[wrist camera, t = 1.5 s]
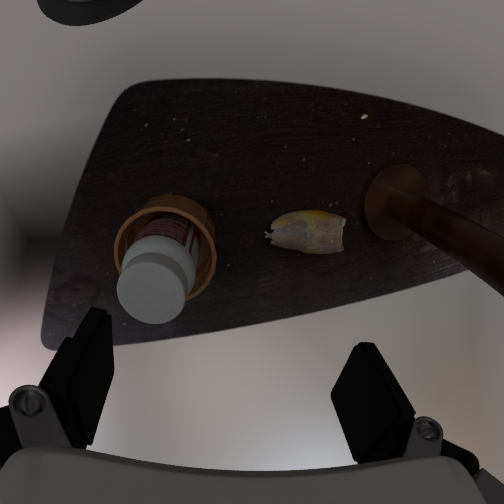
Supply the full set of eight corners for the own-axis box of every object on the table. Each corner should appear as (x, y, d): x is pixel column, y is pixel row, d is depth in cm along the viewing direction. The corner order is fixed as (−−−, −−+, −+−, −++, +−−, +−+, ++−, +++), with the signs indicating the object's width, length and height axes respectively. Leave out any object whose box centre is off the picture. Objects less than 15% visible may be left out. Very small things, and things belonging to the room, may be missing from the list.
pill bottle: (131, 231, 31) (92, 283, 20) (178, 198, 30) (155, 238, 20) (166, 276, 33) (145, 342, 23) (212, 247, 32) (209, 306, 22)
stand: (345, 200, 32) (513, 332, 10) (400, 146, 30) (593, 208, 8) (388, 253, 35) (523, 389, 13) (436, 203, 33) (592, 296, 11)
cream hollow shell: (273, 257, 34) (265, 257, 30) (270, 216, 34) (262, 210, 30) (347, 252, 33) (350, 252, 28) (343, 210, 33) (346, 203, 28)
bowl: (113, 240, 32) (96, 260, 27) (167, 174, 30) (156, 184, 25) (178, 292, 35) (172, 320, 30) (235, 234, 33) (238, 255, 28)
